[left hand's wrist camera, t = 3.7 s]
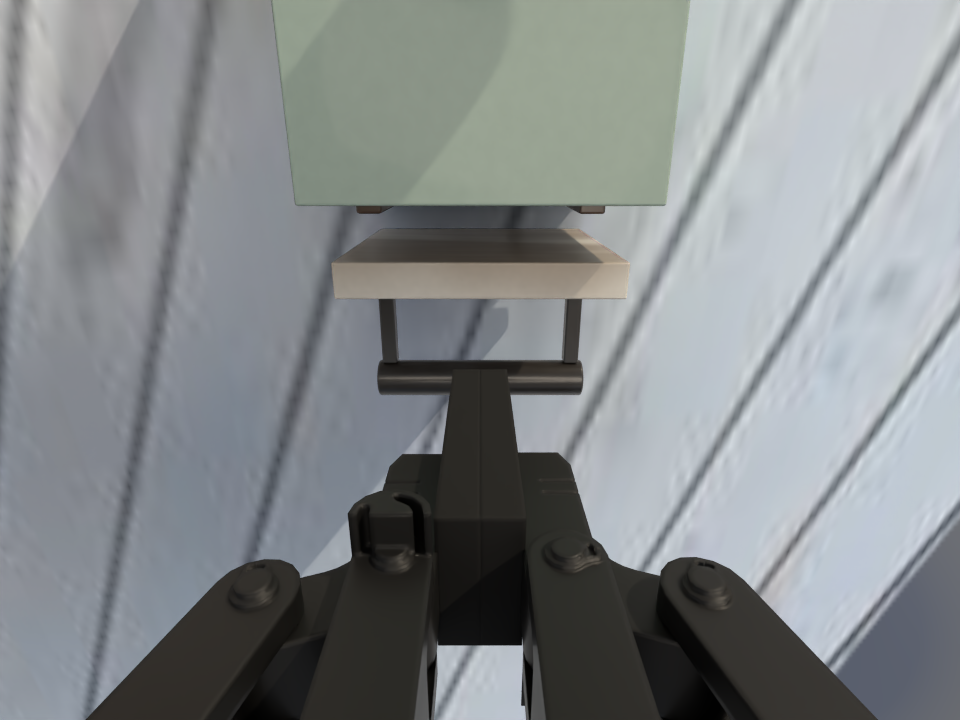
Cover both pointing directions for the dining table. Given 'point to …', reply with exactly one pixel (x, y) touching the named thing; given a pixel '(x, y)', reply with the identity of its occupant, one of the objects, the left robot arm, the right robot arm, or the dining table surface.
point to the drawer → (480, 292)
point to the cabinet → (480, 100)
